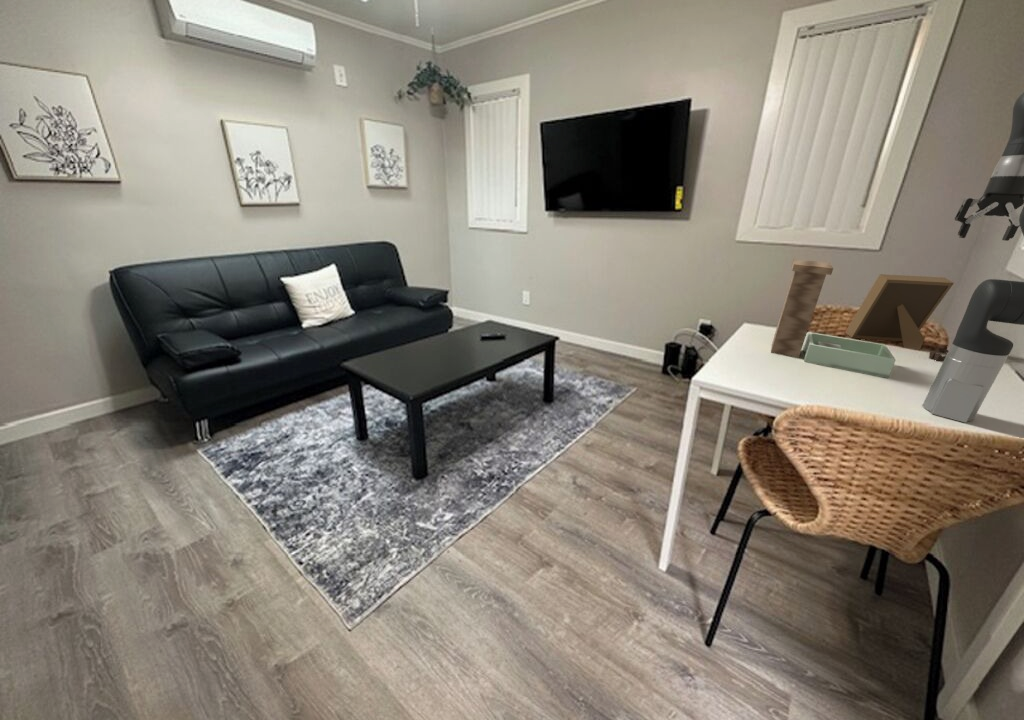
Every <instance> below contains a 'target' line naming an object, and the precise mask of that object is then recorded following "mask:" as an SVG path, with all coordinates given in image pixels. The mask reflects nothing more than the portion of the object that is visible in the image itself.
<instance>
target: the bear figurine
mask: <svg viewBox="0 0 1024 720" xmlns="http://www.w3.org/2000/svg"><path fill="white" fill-rule="evenodd" d="M938 350H939V351H941V352H943V353H946V354H947V353H948V351H949V349H947V348H946V347H944V348H942V347H939V348H938ZM928 355H929V356H928V359H931V360H934V361H935V360H936V361H935V362H943V361H944V359H945V357H946V355H942V354H941V353H937V352H936V351H929V354H928Z"/></svg>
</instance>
